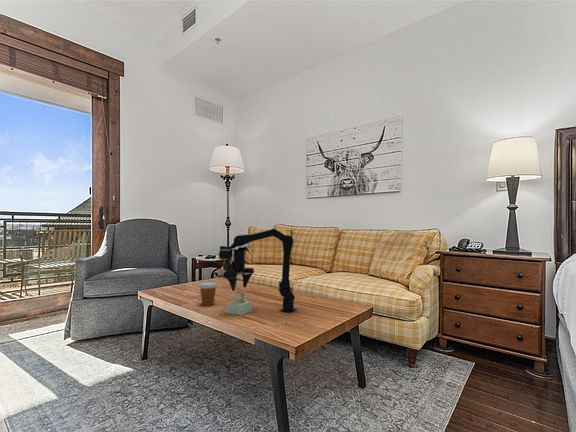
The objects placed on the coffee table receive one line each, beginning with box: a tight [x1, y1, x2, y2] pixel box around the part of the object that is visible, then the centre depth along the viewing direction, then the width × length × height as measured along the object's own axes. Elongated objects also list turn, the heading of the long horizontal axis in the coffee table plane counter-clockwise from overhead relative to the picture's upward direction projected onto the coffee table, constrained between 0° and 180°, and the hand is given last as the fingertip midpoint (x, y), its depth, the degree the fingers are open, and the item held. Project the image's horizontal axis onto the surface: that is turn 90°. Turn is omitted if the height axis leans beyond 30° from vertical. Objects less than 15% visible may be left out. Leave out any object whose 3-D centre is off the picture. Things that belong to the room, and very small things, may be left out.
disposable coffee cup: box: [199, 281, 218, 307], centre depth 173 cm, size 10×10×12 cm
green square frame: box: [226, 299, 253, 316], centre depth 160 cm, size 9×9×5 cm
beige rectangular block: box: [233, 290, 246, 304], centre depth 160 cm, size 4×4×10 cm
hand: (239, 289), depth 160 cm, fingers open, 9 cm apart
